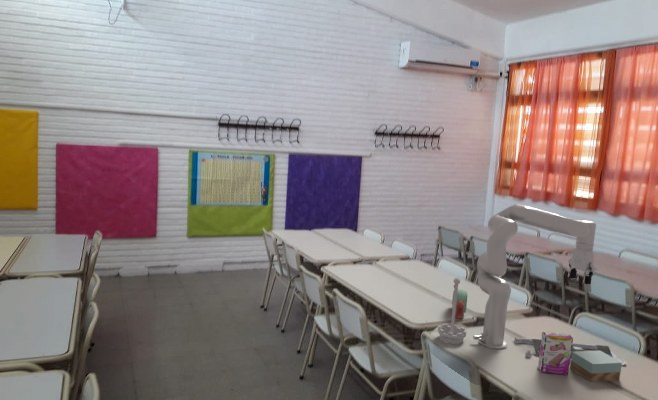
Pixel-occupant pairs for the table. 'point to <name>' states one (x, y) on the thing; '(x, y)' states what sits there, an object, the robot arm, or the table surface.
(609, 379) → the tower base slab
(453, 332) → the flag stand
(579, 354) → the tower top slab
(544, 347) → the candy bar box
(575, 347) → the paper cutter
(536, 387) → the table surface
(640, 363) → the table surface
